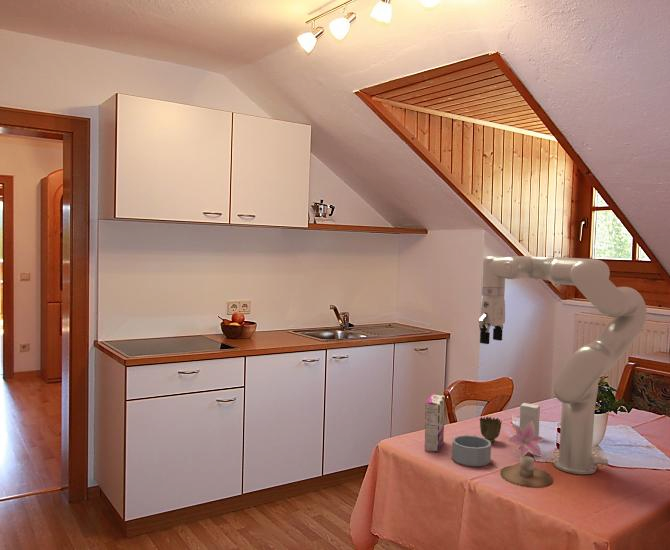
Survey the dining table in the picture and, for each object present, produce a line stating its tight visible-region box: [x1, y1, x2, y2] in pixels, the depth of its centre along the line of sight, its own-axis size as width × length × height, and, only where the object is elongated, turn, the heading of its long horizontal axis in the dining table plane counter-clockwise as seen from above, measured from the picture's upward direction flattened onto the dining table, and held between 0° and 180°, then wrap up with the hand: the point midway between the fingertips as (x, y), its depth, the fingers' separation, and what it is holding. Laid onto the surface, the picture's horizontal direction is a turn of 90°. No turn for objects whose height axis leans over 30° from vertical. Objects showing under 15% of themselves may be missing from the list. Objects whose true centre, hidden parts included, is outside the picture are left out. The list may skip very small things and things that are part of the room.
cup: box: [479, 416, 503, 444], centre depth 217 cm, size 8×7×8 cm
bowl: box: [451, 434, 492, 468], centre depth 200 cm, size 12×12×6 cm
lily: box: [507, 421, 545, 457], centre depth 208 cm, size 12×12×10 cm
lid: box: [500, 455, 554, 488], centre depth 187 cm, size 15×15×6 cm
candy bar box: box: [424, 394, 446, 453], centre depth 211 cm, size 11×5×16 cm, turn 161°
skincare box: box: [519, 402, 541, 436], centre depth 222 cm, size 6×4×12 cm
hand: (491, 341), depth 214 cm, fingers open, 9 cm apart
